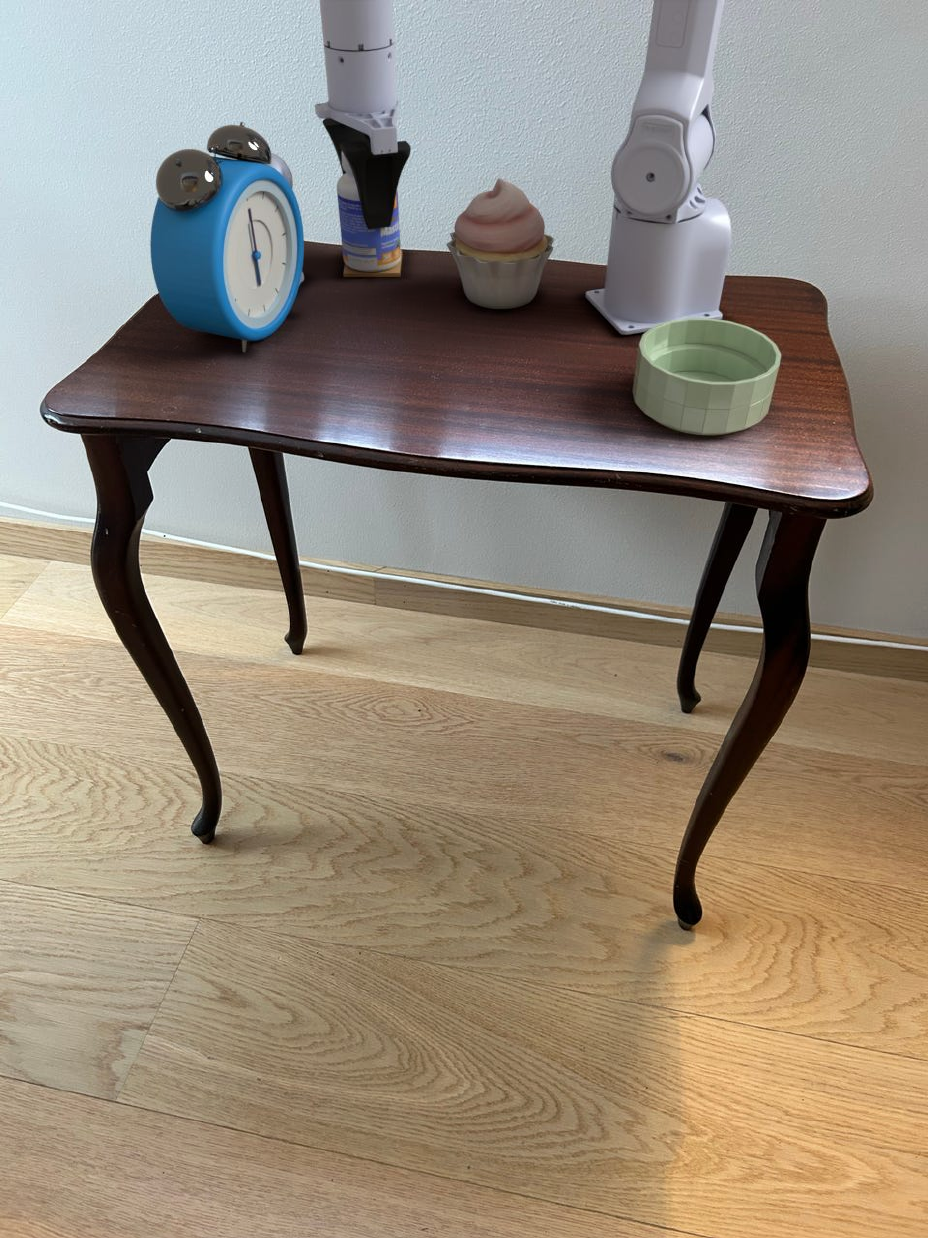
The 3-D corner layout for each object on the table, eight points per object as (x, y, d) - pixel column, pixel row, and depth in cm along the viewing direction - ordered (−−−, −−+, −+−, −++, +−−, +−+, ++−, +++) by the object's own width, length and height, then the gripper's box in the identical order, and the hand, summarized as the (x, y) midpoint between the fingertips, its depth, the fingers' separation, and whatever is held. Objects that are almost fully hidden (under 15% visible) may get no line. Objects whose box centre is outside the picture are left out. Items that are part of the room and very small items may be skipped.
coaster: (402, 253, 92) (402, 249, 91) (400, 276, 88) (400, 272, 88) (348, 254, 92) (347, 250, 91) (343, 277, 88) (343, 272, 87)
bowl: (724, 363, 76) (735, 309, 73) (793, 427, 69) (808, 371, 66) (610, 383, 74) (617, 328, 70) (669, 451, 67) (679, 393, 64)
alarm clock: (234, 373, 75) (196, 173, 64) (168, 358, 77) (121, 161, 66) (314, 302, 84) (292, 116, 73) (253, 290, 85) (223, 107, 75)
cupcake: (440, 276, 88) (438, 161, 81) (540, 270, 89) (546, 156, 82) (454, 322, 81) (453, 201, 74) (561, 315, 82) (570, 195, 75)
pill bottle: (393, 275, 87) (387, 162, 80) (336, 270, 88) (325, 158, 81) (407, 252, 91) (403, 142, 84) (352, 247, 92) (344, 138, 85)
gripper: (293, 26, 81) (310, 191, 91) (329, 69, 71) (344, 250, 80) (373, 20, 83) (383, 183, 92) (420, 61, 73) (425, 240, 82)
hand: (370, 214), depth 86 cm, fingers closed on pill bottle, 5 cm apart
